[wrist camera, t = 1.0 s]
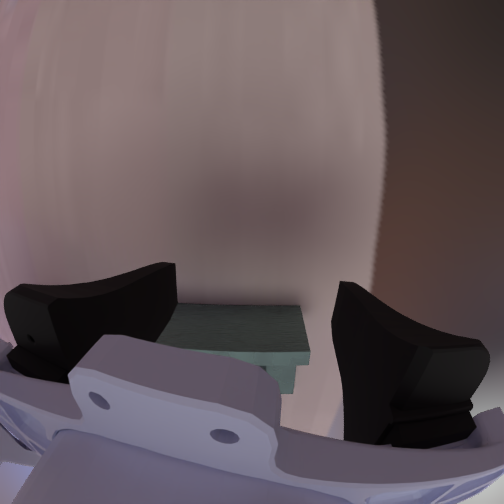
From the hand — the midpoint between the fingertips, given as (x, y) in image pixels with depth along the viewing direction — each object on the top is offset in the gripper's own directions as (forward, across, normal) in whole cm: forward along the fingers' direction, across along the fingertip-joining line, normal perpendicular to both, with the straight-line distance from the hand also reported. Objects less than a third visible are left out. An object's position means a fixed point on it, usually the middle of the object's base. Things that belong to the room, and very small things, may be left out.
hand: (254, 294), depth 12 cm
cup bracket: (+10, +3, +13) cm, 17 cm away
